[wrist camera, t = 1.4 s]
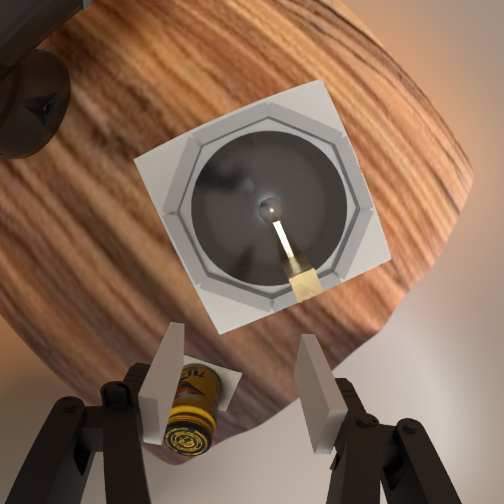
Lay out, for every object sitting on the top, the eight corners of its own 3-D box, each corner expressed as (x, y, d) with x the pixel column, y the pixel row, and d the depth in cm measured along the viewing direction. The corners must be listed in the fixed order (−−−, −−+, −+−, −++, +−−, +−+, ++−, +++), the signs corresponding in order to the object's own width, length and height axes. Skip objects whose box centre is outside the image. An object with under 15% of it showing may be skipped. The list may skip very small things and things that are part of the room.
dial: (168, 171, 32) (148, 170, 25) (308, 110, 31) (325, 93, 24) (231, 304, 35) (229, 334, 28) (363, 246, 34) (390, 263, 27)
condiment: (180, 353, 39) (161, 413, 28) (242, 372, 40) (243, 435, 28) (168, 392, 41) (150, 453, 29) (225, 410, 42) (222, 472, 30)
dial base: (139, 160, 34) (129, 158, 30) (316, 83, 32) (324, 74, 29) (220, 327, 38) (218, 340, 35) (384, 255, 37) (397, 262, 34)
